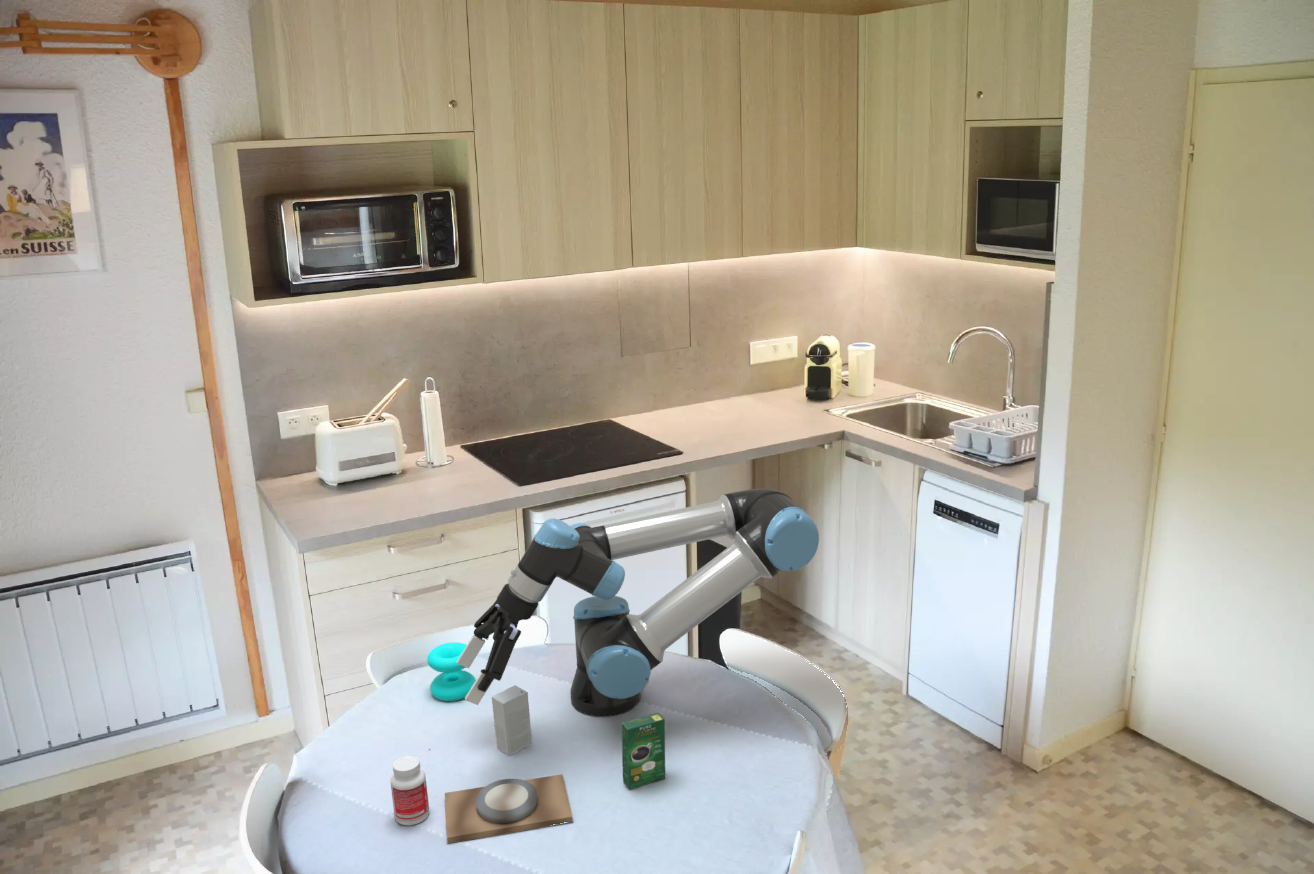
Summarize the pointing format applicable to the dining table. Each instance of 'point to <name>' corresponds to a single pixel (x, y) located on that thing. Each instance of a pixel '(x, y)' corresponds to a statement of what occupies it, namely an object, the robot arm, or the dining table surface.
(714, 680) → the dining table surface
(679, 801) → the dining table surface
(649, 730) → the coffee box
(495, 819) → the seat board
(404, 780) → the pill bottle
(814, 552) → the robot arm
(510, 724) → the skincare box
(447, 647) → the donuts
